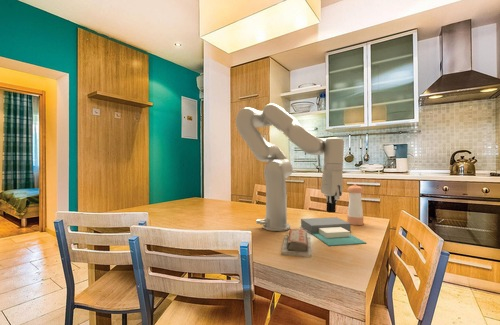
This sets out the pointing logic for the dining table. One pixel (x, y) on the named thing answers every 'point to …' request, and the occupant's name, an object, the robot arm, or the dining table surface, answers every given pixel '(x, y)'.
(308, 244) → the packaged product
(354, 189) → the pepper shaker
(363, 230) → the dining table surface
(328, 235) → the cream flat block
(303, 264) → the dining table surface
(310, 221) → the block
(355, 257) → the dining table surface
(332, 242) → the mat
